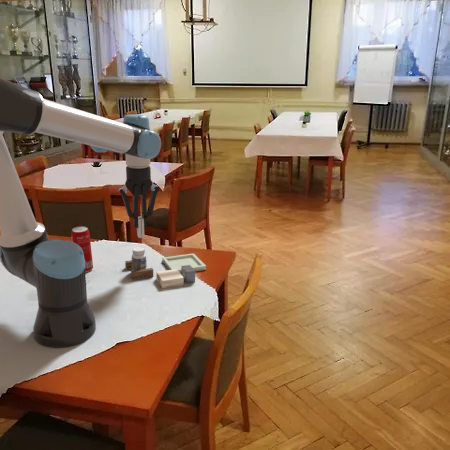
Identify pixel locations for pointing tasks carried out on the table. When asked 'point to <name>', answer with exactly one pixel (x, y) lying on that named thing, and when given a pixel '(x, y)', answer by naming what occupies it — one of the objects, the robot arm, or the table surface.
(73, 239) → the beverage can
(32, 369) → the table surface
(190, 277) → the bench dog
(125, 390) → the table surface
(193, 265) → the tray
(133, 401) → the table surface
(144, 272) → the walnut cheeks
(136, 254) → the pill bottle
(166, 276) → the beige grooved block
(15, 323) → the table surface
